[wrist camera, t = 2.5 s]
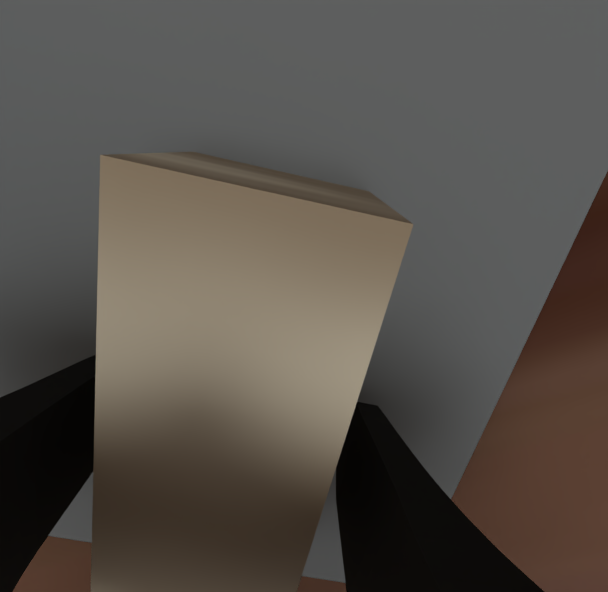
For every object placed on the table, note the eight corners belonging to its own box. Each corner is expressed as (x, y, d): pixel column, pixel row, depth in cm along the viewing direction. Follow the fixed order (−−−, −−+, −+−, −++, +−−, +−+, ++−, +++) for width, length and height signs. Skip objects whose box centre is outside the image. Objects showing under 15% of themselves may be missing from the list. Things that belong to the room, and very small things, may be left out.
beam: (272, 550, 13) (258, 713, 9) (153, 531, 13) (88, 691, 9) (368, 191, 9) (413, 224, 5) (192, 151, 8) (99, 154, 5)
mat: (402, 574, 14) (406, 592, 14) (-300, 461, 13) (-327, 476, 12) (801, -293, 6) (849, -336, 6) (-897, -857, 5) (-1053, -987, 4)
